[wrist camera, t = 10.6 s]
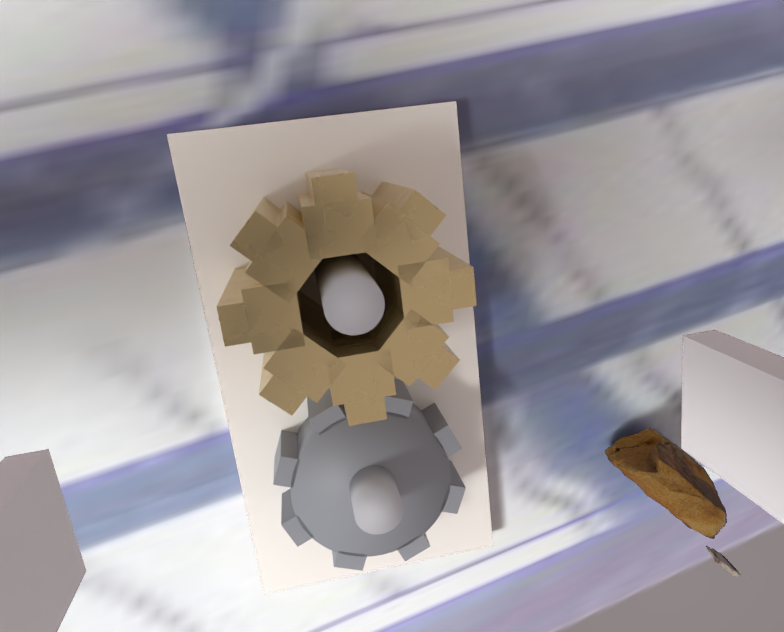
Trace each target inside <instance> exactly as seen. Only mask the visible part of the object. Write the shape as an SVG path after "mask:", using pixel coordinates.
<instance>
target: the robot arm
mask: <svg viewBox="0 0 784 632" xmlns="http://www.w3.org/2000/svg"><path fill="white" fill-rule="evenodd" d="M681 449H682V450H684V451H685V452H686V453H688V454H689V455H691V456H692V457H693V458H695V459H696V460H697V461H699V462H700V463H701V464H703V465H704V466H706V467H707V468H708V469H710V470H711V471H712V472H714V473H715V474H716V475H718V476H719V477H720V478H722V479H723V480H725V481H726V482H727V483H729V484H730V485H731V486H733V487H734V488H735V489H737V490H738V491H740V492H741V493H742V494H744V495H745V496H746V497H748V498H749V499H750V500H752V501H753V502H754V503H756V504H757V505H759V506H760V507H761V508H763V509H764V510H765V511H767V512H768V513H769V514H771V515H772V516H773V517H775V518H776V519H778V520H779V521H780V522H782V523H783V524H784V357H781V356H779V355H776V354H774V353H771V352H769V351H766V350H764V349H761V348H759V347H756V346H754V345H751V344H749V343H746V342H744V341H741V340H739V339H736V338H734V337H731V336H729V335H726V334H724V333H721V332H719V331H716V330H711V331H705V332H700V333H694V334H689V335H683V358H682V424H681ZM85 573H86V569H85V566H84V562H83V559H82V556H81V553H80V549H79V546H78V543H77V540H76V537H75V533H74V530H73V527H72V524H71V520H70V517H69V514H68V511H67V507H66V504H65V501H64V498H63V494H62V491H61V488H60V485H59V482H58V478H57V475H56V472H55V469H54V465H53V462H52V459H51V456H50V452H49V449H47V450H41V451H36V452H30V453H24V454H19V455H13V456H8V457H5V458H4V459H3V460H2V461H1V462H0V632H57V631H58V629H59V627H60V624H61V622H62V620H63V618H64V616H65V614H66V612H67V610H68V608H69V606H70V604H71V602H72V600H73V598H74V596H75V593H76V591H77V589H78V587H79V585H80V583H81V581H82V579H83V577H84V575H85Z"/></svg>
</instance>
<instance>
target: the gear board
mask: <svg viewBox="0 0 784 632" xmlns="http://www.w3.org/2000/svg"><path fill="white" fill-rule="evenodd" d="M167 138H168V143H169V147H170V152H171V157H172V161H173V166H174V171H175V176H176V180H177V185H178V190H179V195H180V199H181V204H182V209H183V213H184V218H185V223H186V228H187V232H188V237H189V242H190V246H191V251H192V256H193V261H194V265H195V270H196V275H197V280H198V284H199V289H200V294H201V298H202V303H203V308H204V313H205V317H206V322H207V327H208V331H209V336H210V341H211V346H212V350H213V355H214V360H215V365H216V369H217V374H218V379H219V383H220V388H221V393H222V398H223V402H224V407H225V412H226V416H227V421H228V426H229V431H230V435H231V440H232V445H233V450H234V454H235V459H236V464H237V468H238V473H239V478H240V483H241V487H242V492H243V497H244V501H245V506H246V511H247V516H248V520H249V525H250V530H251V534H252V539H253V544H254V549H255V553H256V558H257V563H258V568H259V572H260V577H261V582H262V586H263V591H264V595H266V594H270V593H275V592H280V591H284V590H289V589H294V588H298V587H303V586H307V585H312V584H317V583H321V582H326V581H331V580H335V579H340V578H345V577H349V576H354V575H359V574H363V573H368V572H373V571H377V570H382V569H387V568H391V567H396V566H401V565H405V564H410V563H414V562H419V561H424V560H428V559H433V558H438V557H442V556H447V555H452V554H456V553H461V552H466V551H470V550H475V549H480V548H484V547H489V546H493V539H492V527H491V515H490V503H489V491H488V478H487V466H486V454H485V442H484V430H483V418H482V406H481V394H480V382H479V370H478V358H477V346H476V334H475V322H474V310H473V306H472V307H466V308H460V309H454V310H453V318H454V322H448V323H442V324H438V325H439V326H440V327H441V328H442V329H443V330H444V332H445V333H446V334H447V335H448V336H449V338H448V339H447V340H446V341H445V343H446V344H447V345H448V346H449V348H450V349H451V350H452V351H453V352H454V353H455V355H456V356H457V357H458V358H459V359H460V360H459V362H458V363H457V364H456V365H455V367H454V368H453V369H452V370H451V372H450V373H449V374H448V375H447V377H446V378H445V379H444V380H443V382H442V383H441V384H440V385H439V387H438V388H437V389H436V390H435V389H434V388H432V387H431V386H430V385H428V384H427V383H425V382H424V381H422V380H421V379H420V378H418V377H417V378H416V379H415V381H414V382H413V383H412V385H411V386H408V385H407V384H406V383H404V382H403V381H401V380H400V379H398V378H397V377H395V376H394V382H395V390H396V395H392V396H387V397H384V400H385V407H386V415H387V419H385V420H380V421H374V422H369V423H363V424H358V425H353V426H349V425H348V420H347V416H346V411H345V407H344V404H342V405H336V406H333V402H332V397H331V391H330V387H329V388H328V390H327V391H326V392H325V394H324V395H323V396H322V397H321V399H320V400H319V401H318V403H316V402H315V401H313V400H312V399H310V398H309V397H306V398H305V400H304V401H303V402H302V404H301V405H300V406H299V408H298V409H297V410H296V412H295V413H294V414H293V415H290V414H289V413H287V412H285V411H284V410H282V409H281V408H279V407H277V406H276V405H274V404H273V403H271V402H269V401H268V400H266V399H265V398H263V397H261V396H260V395H259V389H260V381H261V373H262V365H263V357H264V353H260V354H253V349H252V344H251V342H250V343H244V344H238V345H232V346H226V347H225V345H224V341H223V336H222V331H221V326H220V321H219V316H218V312H217V307H216V306H217V304H218V302H219V300H220V298H221V296H222V294H223V292H224V290H225V288H226V286H227V283H228V281H229V279H230V277H231V275H232V273H233V271H234V269H235V268H242V267H247V265H248V263H249V259H248V258H246V257H245V256H244V255H242V254H241V253H239V252H238V251H236V250H235V249H233V248H232V247H231V246H230V244H231V243H232V241H233V240H234V238H235V237H236V235H237V234H238V232H239V231H240V229H241V228H242V226H243V225H244V223H245V222H246V221H247V219H248V218H249V216H250V215H251V214H252V212H253V211H254V210H255V208H256V207H257V205H258V204H259V203H260V201H261V200H262V199H263V197H265V198H266V199H267V200H269V201H270V202H272V203H273V204H274V205H276V206H277V207H278V208H280V209H281V208H282V207H283V205H284V204H285V203H286V201H287V202H288V203H290V204H291V205H292V206H294V207H295V208H296V209H298V210H299V211H301V209H300V203H299V197H298V194H304V193H308V189H307V182H306V176H305V172H312V171H320V170H328V169H336V168H338V169H343V170H347V171H352V172H354V174H355V182H356V189H357V191H358V192H360V193H362V191H364V192H366V193H368V194H370V195H372V194H373V193H374V192H375V190H376V189H377V188H378V186H379V185H380V184H381V182H382V181H384V182H388V183H392V184H396V185H400V186H404V187H408V188H412V189H415V190H416V191H417V192H419V193H420V194H421V195H422V196H423V197H425V198H426V199H427V200H428V201H430V202H431V203H432V204H433V205H435V206H436V207H437V208H438V209H439V210H441V211H442V212H443V213H444V214H446V216H445V218H444V219H443V220H442V221H441V223H440V224H439V225H438V227H437V228H436V229H435V231H434V232H433V233H432V234H431V237H432V238H433V239H435V240H436V241H437V242H439V243H440V245H439V247H441V248H442V249H444V250H446V251H447V252H449V253H451V254H452V255H454V256H456V257H458V258H459V259H461V260H463V261H464V262H466V263H468V264H469V265H470V261H469V249H468V237H467V225H466V213H465V201H464V189H463V177H462V165H461V153H460V141H459V129H458V117H457V105H456V101H453V102H444V103H435V104H427V105H418V106H409V107H400V108H392V109H383V110H374V111H365V112H357V113H348V114H339V115H330V116H322V117H313V118H304V119H296V120H287V121H278V122H269V123H261V124H252V125H243V126H234V127H226V128H217V129H208V130H199V131H191V132H182V133H173V134H167ZM375 280H376V276H375V268H374V261H373V258H372V257H371V256H370V255H368V254H367V253H366V252H365V253H358V254H351V255H344V256H337V257H331V258H324V259H322V260H321V261H320V263H319V264H318V265H317V267H316V268H315V269H314V271H313V272H312V273H311V275H310V276H309V277H308V279H307V280H306V281H305V283H304V284H303V285H302V287H301V288H300V289H299V290H300V291H301V292H302V293H304V294H305V295H306V296H308V297H309V298H311V299H312V300H314V301H315V302H316V303H318V304H319V305H321V306H322V307H323V310H324V314H325V317H326V319H327V321H328V323H329V324H330V325H331V326H332V327H333V328H334V329H335V330H337V331H338V332H340V333H343V334H346V335H360V334H364V333H366V332H368V331H370V330H372V329H373V328H374V327H375V326H376V325H377V324H378V323H379V321H380V320H381V318H382V316H383V313H384V309H385V301H384V296H383V293H382V291H381V289H380V288H379V287H378V285H377V284H376V282H375Z"/></svg>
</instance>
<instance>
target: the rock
mask: <svg viewBox="0 0 784 632" xmlns="http://www.w3.org/2000/svg"><path fill="white" fill-rule="evenodd" d="M605 454H606V455H607V456H608V459H609V461H610V462H611V463H612V464H613V465H614V466H616V467H617V468H619V469H620V470H621V471H622V473H623V474H624V475H625V476H626V477H627V478H629V479H631V480H632V481H634V482H635V483H636V484H637V485H638V486H639V487H640V488H641V489H642V490H643V491H644V492H645V494H646V495H647V496H649V497H651V498H652V499H653V500H655V501H656V502H658V503H659V504H661V505H662V506H663V507H665V508H666V509H668V510H669V511H670V512H671V513H672V514H673V515H674V516H675V517H676V518H678V519H680V520H681V521H682V522H683V523H684V524H685V525H686V526H687V527H689V528H690V529H694V530H696V531H698V532H699V533H701V534H703V535H704V536H706V537H709V538H711V539H714V538H715V535H717V534H718V532H719V531H720V529H722V527H724V526H725V524H726V523H727V519H726V515H727V514H726V510H725V507H724V506H723V504H722V503H721V500H720V498H719V496H718V493H717V491H716V489H715V486H714V483H713V482H712V481H711V479H710V477H709V475H708V474H707V472H706V470H705V469H704V468H703V467H702V466H701V465H699V464H698V463H697V462H696V461H695V460H694V459H693V458H692V457H690V456H689V455H688V454H687V453H685V451H684V450H682V449H681V448H680V447H678V446H677V445H676V444H673V443H672V442H671V441H669V440H668V439H667V438H665V437H664V436H662V435H661V434H660V433H659V432H658V431H656V430H655V429H651V428H649V429H646V430H641V431H640V432H639V433H638V434H633V435H630V436H626V437H622V438H621V439H619V440H617V441H616V442H615V443H614V444H613V445H612V446H611V447H609V448H607V449H606V450H605ZM706 547H707V549H708V551H709V552H710V553H711V555H712V556H713V557H714V560H715V562H716V563H718V564H719V565H723V566H722V567H723V568H724V569H725V570H726V571H728V572H730V573H731V574H732V575H733V576H740V573H739V572H738V571H737V570H736V568H734V566H733V565H732V564H731V563H730V562H729V561H728V560H727V559H726V558H725V557H724V556H723V555H722V554H721V553H719V552H717V551H716V550H715V549H713V548H712V549H710V548H709V547H708V546H706Z"/></svg>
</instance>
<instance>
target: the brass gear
mask: <svg viewBox="0 0 784 632" xmlns="http://www.w3.org/2000/svg"><path fill="white" fill-rule="evenodd" d="M305 176H306V182H307V189H308V193H304V194H298V197H299V203H300V209H301V211H299V210H298V209H296V208H295V207H294V206H292V205H291V204H290V203H288V202H287V201H286V203H285V204H284V205H283V207H282V208H281V209H280V208H278V207H277V206H276V205H274V204H273V203H272V202H270V201H269V200H267V199H266V198H265V197H263V199H262V200H261V201H260V203H259V204H258V205H257V207H256V208H255V210H254V211H253V212H252V214H251V215H250V216H249V218H248V219H247V221H246V222H245V223H244V225H243V226H242V228H241V229H240V231H239V232H238V234H237V235H236V237H235V238H234V240H233V241H232V243H231V244H230V246H231V247H232V248H233V249H235V250H236V251H238V252H239V253H241V254H242V255H244V256H245V257H246V258H248V259H249V263H248V265H247V267H242V268H235V269H234V271H233V273H232V275H231V277H230V279H229V281H228V283H227V286H226V288H225V290H224V292H223V294H222V296H221V298H220V300H219V302H218V304H217V306H216V307H217V312H218V316H219V321H220V326H221V331H222V336H223V341H224V345H225V347H226V346H232V345H238V344H244V343H250V342H251V344H252V349H253V354H260V353H264V357H263V365H262V373H261V381H260V389H259V395H260V396H261V397H263V398H265V399H266V400H268V401H269V402H271V403H273V404H274V405H276V406H277V407H279V408H281V409H282V410H284V411H285V412H287V413H289V414H290V415H293V414H294V413H295V412H296V410H297V409H298V408H299V406H300V405H301V404H302V402H303V401H304V400H305V398H306V397H309V398H310V399H312V400H313V401H315V402H316V403H318V401H319V400H320V399H321V397H322V396H323V395H324V394H325V392H326V391H327V390H328V388H329V387H330V391H331V397H332V402H333V406H336V405H342V404H344V407H345V411H346V416H347V420H348V425H349V426H353V425H358V424H363V423H369V422H374V421H380V420H385V419H387V415H386V407H385V400H384V397H387V396H392V395H396V390H395V382H394V376H395V377H397V378H398V379H400V380H401V381H403V382H404V383H406V384H407V385H408V386H411V385H412V383H413V382H414V381H415V379H416V378H417V377H418V378H420V379H421V380H422V381H424V382H425V383H427V384H428V385H430V386H431V387H432V388H434V389H435V390H436V389H437V388H438V387H439V385H440V384H441V383H442V382H443V380H444V379H445V378H446V377H447V375H448V374H449V373H450V372H451V370H452V369H453V368H454V367H455V365H456V364H457V363H458V362H459V360H460V359H459V358H458V357H457V356H456V355H455V353H454V352H453V351H452V350H451V349H450V348H449V346H448V345H447V344H446V343H445V341H446V340H447V339H448V338H449V336H448V335H447V334H446V333H445V332H444V330H443V329H442V328H441V327H440V326H439V325H438V324H442V323H448V322H454V318H453V310H454V309H460V308H466V307H472V306H477V303H476V291H475V279H474V267H473V266H471V265H469V264H468V263H466V262H464V261H463V260H461V259H459V258H458V257H456V256H454V255H452V254H451V253H449V252H447V251H446V250H444V249H442V248H441V247H439V245H440V243H439V242H437V241H436V240H435V239H433V238H432V237H431V234H432V233H433V232H434V231H435V229H436V228H437V227H438V225H439V224H440V223H441V221H442V220H443V219H444V218H445V216H446V214H444V213H443V212H442V211H441V210H439V209H438V208H437V207H436V206H435V205H433V204H432V203H431V202H430V201H428V200H427V199H426V198H425V197H423V196H422V195H421V194H420V193H419V192H417V191H416V190H415V189H412V188H408V187H404V186H400V185H396V184H392V183H388V182H384V181H382V182H381V184H380V185H379V186H378V188H377V189H376V190H375V192H374V193H373V194H372V195H370V194H368V193H366V192H364V191H362V193H360V192H358V191H357V189H356V182H355V174H354V172H352V171H347V170H343V169H338V168H336V169H328V170H320V171H312V172H305ZM365 252H366V253H367V254H368V255H370V256H371V257H372V258H373V261H374V268H375V276H376V280H375V282H376V284H377V285H378V287H379V288H380V289H381V291H382V293H383V296H384V301H385V309H384V313H383V316H382V318H381V320H380V321H379V323H378V324H377V325H376V326H375V327H374V328H373V329H372V330H370V331H368V332H366V333H364V334H360V335H346V334H343V333H340V332H338V331H337V330H335V329H334V328H333V327H332V326H331V325H330V324H329V323H328V321H327V319H326V317H325V314H324V310H323V307H322V306H321V305H319V304H318V303H316V302H315V301H314V300H312V299H311V298H309V297H308V296H306V295H305V294H304V293H302V292H301V291H300V290H299V289H300V288H301V287H302V285H303V284H304V283H305V281H306V280H307V279H308V277H309V276H310V275H311V273H312V272H313V271H314V269H315V268H316V267H317V265H318V264H319V263H320V261H321V260H322V259H324V258H331V257H337V256H344V255H351V254H358V253H365Z"/></svg>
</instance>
